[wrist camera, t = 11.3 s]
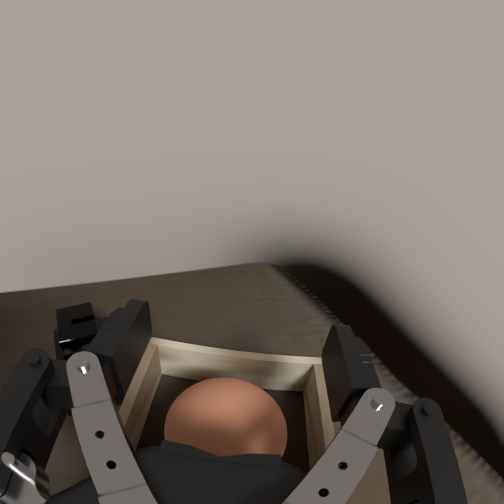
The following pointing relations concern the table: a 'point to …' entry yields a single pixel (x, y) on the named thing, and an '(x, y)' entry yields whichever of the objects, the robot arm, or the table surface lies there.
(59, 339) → the black slotted stand
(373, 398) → the robot arm
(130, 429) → the corral
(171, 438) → the ball
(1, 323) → the table surface
